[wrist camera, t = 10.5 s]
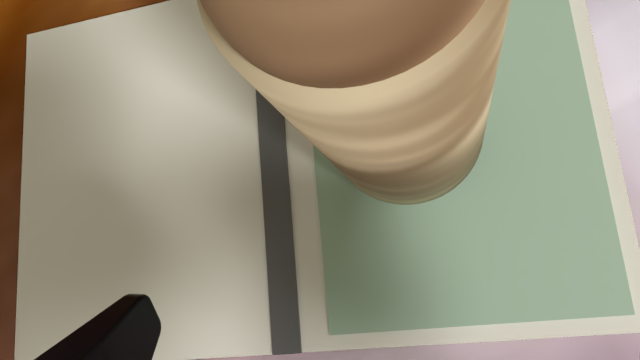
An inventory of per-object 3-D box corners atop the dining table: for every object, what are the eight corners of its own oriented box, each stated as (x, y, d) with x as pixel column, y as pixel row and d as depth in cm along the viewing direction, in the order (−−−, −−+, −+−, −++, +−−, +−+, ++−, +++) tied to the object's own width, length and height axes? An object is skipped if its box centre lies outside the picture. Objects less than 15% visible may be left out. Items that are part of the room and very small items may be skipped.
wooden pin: (392, 235, 17) (234, 117, 5) (306, 123, 18) (25, -178, 6) (517, 140, 16) (689, -251, 4) (419, 33, 18) (346, -471, 6)
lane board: (22, 368, 20) (11, 370, 19) (34, 38, 23) (25, 33, 22) (651, 329, 15) (658, 332, 14) (562, -87, 18) (564, -97, 17)
